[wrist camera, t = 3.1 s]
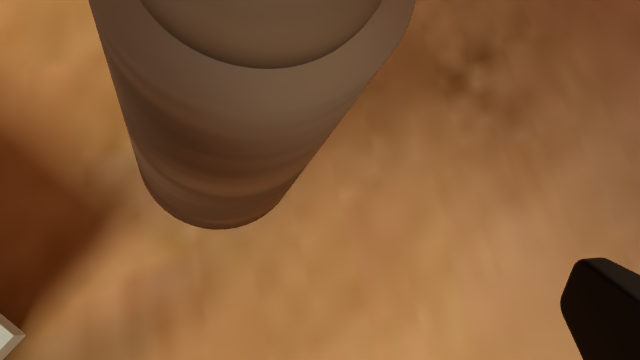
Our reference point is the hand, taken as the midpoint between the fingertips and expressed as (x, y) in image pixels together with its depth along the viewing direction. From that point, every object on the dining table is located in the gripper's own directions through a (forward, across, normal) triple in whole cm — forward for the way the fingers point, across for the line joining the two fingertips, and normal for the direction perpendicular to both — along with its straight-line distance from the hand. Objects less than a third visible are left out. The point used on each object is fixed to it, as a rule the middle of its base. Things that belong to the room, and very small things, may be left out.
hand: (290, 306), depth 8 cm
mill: (+13, 0, +5) cm, 14 cm away
